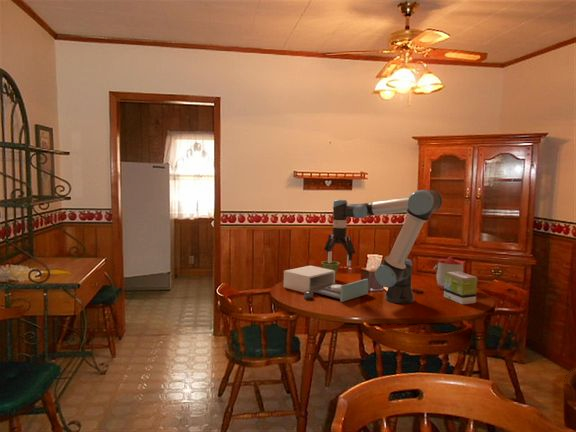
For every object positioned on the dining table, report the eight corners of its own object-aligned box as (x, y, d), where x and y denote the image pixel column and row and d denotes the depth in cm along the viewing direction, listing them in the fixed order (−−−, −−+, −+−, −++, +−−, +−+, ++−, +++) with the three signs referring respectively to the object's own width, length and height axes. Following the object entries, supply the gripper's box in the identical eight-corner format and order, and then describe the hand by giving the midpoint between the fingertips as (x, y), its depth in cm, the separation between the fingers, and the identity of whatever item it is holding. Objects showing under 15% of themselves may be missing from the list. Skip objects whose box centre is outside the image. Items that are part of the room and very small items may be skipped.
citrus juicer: (432, 284, 285) (434, 253, 283) (462, 287, 279) (464, 255, 277) (431, 289, 270) (433, 257, 268) (462, 293, 264) (464, 259, 262)
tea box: (442, 297, 254) (444, 271, 253) (457, 296, 258) (458, 270, 256) (461, 304, 240) (463, 277, 239) (476, 303, 244) (478, 276, 242)
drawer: (367, 293, 256) (368, 278, 256) (342, 301, 239) (342, 286, 238) (334, 285, 273) (335, 272, 272) (308, 293, 255) (308, 278, 254)
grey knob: (314, 298, 246) (315, 292, 246) (308, 300, 243) (309, 293, 242) (308, 296, 250) (308, 290, 249) (302, 298, 246) (302, 292, 246)
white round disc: (347, 289, 256) (347, 286, 256) (339, 292, 250) (339, 288, 250) (336, 287, 262) (336, 283, 261) (327, 289, 256) (327, 286, 256)
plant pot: (340, 282, 284) (340, 264, 283) (321, 281, 284) (321, 264, 283) (338, 278, 296) (338, 261, 295) (320, 277, 296) (320, 260, 295)
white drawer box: (334, 286, 273) (335, 270, 272) (308, 293, 255) (309, 276, 254) (309, 280, 286) (310, 265, 285) (283, 287, 269) (283, 270, 268)
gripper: (318, 226, 258) (318, 262, 260) (354, 229, 241) (353, 268, 243) (326, 225, 264) (326, 260, 265) (362, 228, 247) (361, 266, 248)
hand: (339, 264), depth 254 cm, fingers open, 13 cm apart
